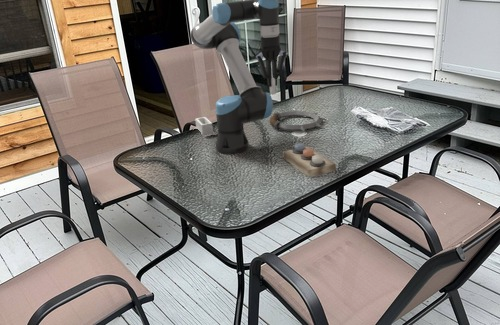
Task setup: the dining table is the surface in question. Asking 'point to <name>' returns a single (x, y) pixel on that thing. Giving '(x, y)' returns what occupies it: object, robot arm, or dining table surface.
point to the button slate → (299, 147)
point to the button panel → (309, 163)
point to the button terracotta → (308, 153)
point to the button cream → (317, 159)
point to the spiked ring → (279, 125)
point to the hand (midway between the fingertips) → (272, 93)
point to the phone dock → (204, 126)
